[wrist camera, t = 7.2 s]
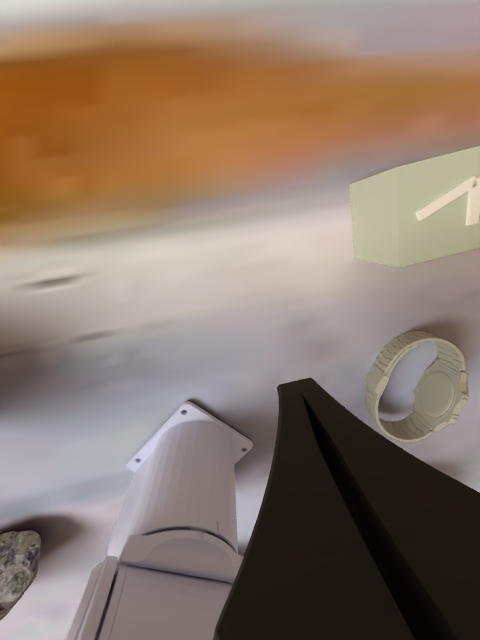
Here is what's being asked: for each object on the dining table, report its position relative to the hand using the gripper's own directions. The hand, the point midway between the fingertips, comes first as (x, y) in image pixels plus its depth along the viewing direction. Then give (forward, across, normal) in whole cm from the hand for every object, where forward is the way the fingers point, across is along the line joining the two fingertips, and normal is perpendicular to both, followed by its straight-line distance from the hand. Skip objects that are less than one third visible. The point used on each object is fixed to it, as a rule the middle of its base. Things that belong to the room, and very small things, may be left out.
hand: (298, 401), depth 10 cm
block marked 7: (+11, -10, -5) cm, 16 cm away
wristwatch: (+11, -10, +9) cm, 17 cm away
